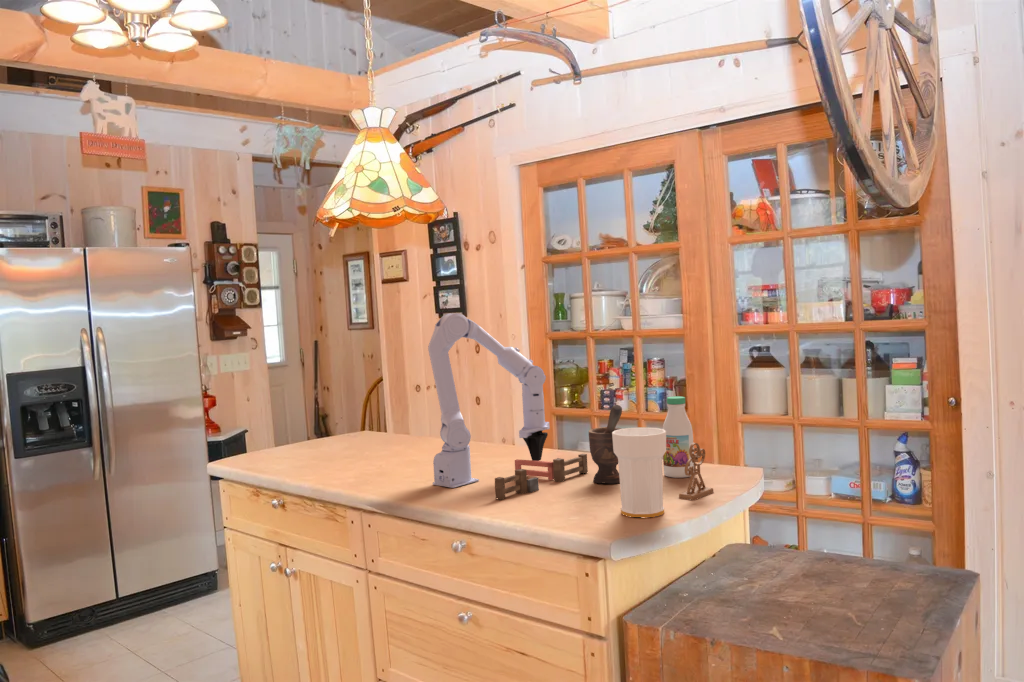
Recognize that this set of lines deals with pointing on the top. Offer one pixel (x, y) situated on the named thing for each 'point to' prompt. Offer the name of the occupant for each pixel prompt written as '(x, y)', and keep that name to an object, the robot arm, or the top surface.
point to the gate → (533, 472)
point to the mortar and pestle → (605, 449)
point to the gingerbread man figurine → (692, 491)
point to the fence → (532, 484)
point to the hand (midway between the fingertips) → (536, 460)
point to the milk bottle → (677, 438)
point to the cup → (640, 469)
